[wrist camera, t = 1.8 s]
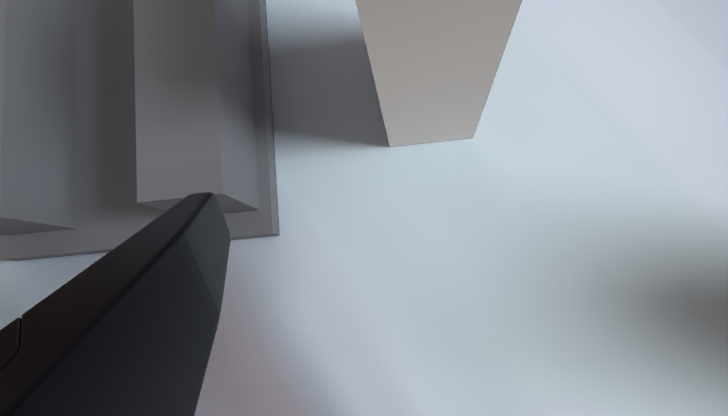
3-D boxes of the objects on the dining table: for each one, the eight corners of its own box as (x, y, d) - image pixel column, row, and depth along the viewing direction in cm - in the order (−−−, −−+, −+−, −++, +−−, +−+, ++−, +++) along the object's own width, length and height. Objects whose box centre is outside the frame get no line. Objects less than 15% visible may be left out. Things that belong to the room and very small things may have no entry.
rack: (279, 235, 22) (238, 221, 17) (17, 260, 23) (-92, 254, 18) (261, -64, 24) (220, -153, 19) (21, -28, 25) (-75, -103, 20)
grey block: (473, 137, 22) (540, -51, 9) (389, 146, 22) (349, -24, 10) (459, 26, 22) (506, -284, 10) (379, 36, 23) (330, -251, 11)
